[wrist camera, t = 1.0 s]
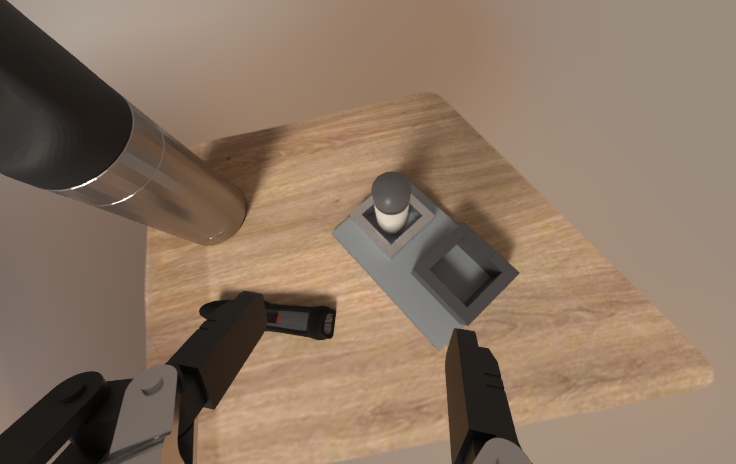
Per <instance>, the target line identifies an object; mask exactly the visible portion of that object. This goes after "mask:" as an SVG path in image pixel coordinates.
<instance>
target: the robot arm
mask: <svg viewBox="0 0 736 464" xmlns="http://www.w3.org/2000/svg"><path fill="white" fill-rule="evenodd" d="M0 173H1V174H3V175H5V176H8V177H10V178H13V179H16V180H18V181H21V182H24V183H27V184H30V185H32V186H35V187H38V188H41V189H44V190H47V191H50V192H53V193H56V194H58V195H61V196H64V197H67V198H70V199H73V200H75V201H78V202H81V203H84V204H87V205H90V206H93V207H96V208H99V209H101V210H104V211H107V212H110V213H113V214H115V215H118V216H121V217H124V218H127V219H129V220H132V221H135V222H138V223H141V224H144V225H146V226H149V227H152V228H155V229H158V230H160V231H163V232H166V233H169V234H172V235H175V236H177V237H180V238H183V239H186V240H188V241H191V242H194V243H197V244H201V245H214V244H219V243H221V242H223V241H225V240H227V239H228V238H230V237H231V236H232V235H233V234H234V233H235V232H236V231H237V230H238V229H239V227H240V226H241V224H242V222H243V220H244V217H245V213H246V203H245V199H244V197H243V195H242V193H241V192H240V191H239V189H238V188H236V187H235V186H234V185H233V184H231V183H230V182H229V181H228V180H226V179H225V178H224V177H223V176H222V175H220V174H219V173H218V172H217V171H215V170H214V169H213V168H212V167H210V166H209V165H208V164H207V163H205V162H204V161H203V160H202V159H200V158H199V157H198V156H197V155H195V154H194V153H193V152H192V151H190V150H189V149H188V148H187V147H185V146H184V145H183V144H182V143H180V142H179V141H178V140H177V139H175V138H174V137H173V136H172V135H170V134H169V133H168V132H167V131H165V130H164V129H163V128H161V127H160V126H159V125H158V124H157V123H155V122H154V121H153V120H151V119H150V118H149V117H148V116H146V115H145V114H144V113H143V112H141V111H140V110H139V109H138V108H136V107H135V106H134V105H133V104H131V103H130V102H129V101H128V100H126V99H125V98H124V97H122V96H121V95H120V94H119V93H117V92H116V91H115V90H114V89H113V88H111V87H110V86H109V85H107V84H106V83H105V82H104V81H103V80H101V79H100V78H99V77H98V76H97V75H95V74H94V73H93V72H92V71H91V70H89V69H88V68H87V67H86V66H85V65H84V64H83V63H81V62H80V61H79V60H78V59H77V58H76V57H74V56H73V55H72V54H71V53H69V52H68V51H67V50H66V49H64V48H63V47H62V46H61V45H60V44H58V43H57V42H56V41H55V40H54V39H52V38H51V37H50V36H49V35H47V34H46V33H45V32H44V31H43V30H41V29H40V28H39V27H38V26H36V25H35V24H34V23H33V22H32V21H30V20H29V19H28V18H27V17H25V16H24V15H23V14H22V13H21V12H20V11H19V10H17V9H16V8H15V7H14V6H13V5H12V4H10V3H9V2H8V1H7V0H0ZM266 326H267V315H266V310H265V304H264V298H263V295H262V294H260V293H254V292H248V291H243V292H241V293H240V294H239V295H238V296H237V298H236V299H235V300H234V301H233V302H232V301H228V302H226V303H225V304H223V305H222V306H220V307H218V308H217V309H216V310H215V311H214V312H213V313H212V314H211V315H210V316H209V317H208V318H207V321H205V322H204V323H203V324H202V325H201V326H200V327H199V329H197V330H196V331H195V332H194V334H193V335H192V336H191V337H190V338H189V339H188V340H187V341H186V342H185V343H184V344H183V345H182V347H181V348H180V349H179V350H178V351H177V352H176V353H175V354H174V355H173V356H172V357H171V358H170V360H169V361H168V362H167V363H165V364H164V365H158V366H154V367H152V368H149V369H147V370H145V371H144V372H142V373H141V374H139V375H138V376H137V377H136V378H133V379H124V380H116V381H107V382H106V381H105V379H104V378H103V376H102V375H101V374H100V373H98V372H93V371H91V372H84V373H81V374H77V375H75V376H73V377H71V378H69V379H67V380H65V381H63V382H62V383H60V384H59V385H57V386H56V387H55V388H54V389H52V390H51V391H50V392H49V393H48V394H47V395H46V396H44V397H43V398H42V399H41V400H40V401H39V402H38V403H36V404H35V405H34V406H33V407H32V408H31V409H29V411H27V412H26V413H25V414H24V415H23V416H21V417H20V418H19V419H18V420H17V421H16V422H15V423H13V424H12V425H11V426H10V427H9V428H8V429H7V430H5V431H4V432H3V433H2V434H1V435H0V464H46V463H47V462H48V461H49V460H50V459H51V458H52V456H53V455H54V454H55V453H56V452H57V451H58V450H59V449H60V448H61V447H62V446H63V445H64V444H65V443H66V442H67V440H70V442H71V443H70V444H69V445H68V447H67V448H66V449H65V450H64V451H63V452H62V453H61V454H60V455H59V456H58V457H57V458H56V460H55V461H54V462H53V463H52V464H197V441H198V417H197V415H198V414H199V413H200V411H201V410H202V408H203V407H205V408H209V409H214V410H215V408H216V407H217V405H218V403H219V402H220V400H221V399H222V397H223V396H224V394H225V393H226V391H227V389H228V388H229V386H230V385H231V383H232V382H233V380H234V379H235V377H236V375H237V374H238V372H239V371H240V369H241V368H242V366H243V365H244V363H245V361H246V360H247V358H248V357H249V355H250V354H251V352H252V351H253V349H254V348H255V346H256V344H257V343H258V341H259V340H260V338H261V337H262V335H263V333H264V331H265V329H266ZM445 373H446V387H447V401H448V416H449V430H450V443H451V458H452V464H532V463H531V461H530V460H529V458H528V457H527V455H526V454H525V453H524V452H523V450H522V449H521V447H520V444H519V442H518V439H517V436H516V432H515V428H514V424H513V420H512V416H511V412H510V408H509V405H508V401H507V397H506V393H505V391H504V385H503V381H502V379H501V374H500V370H499V366H498V362H497V360H496V359H495V357H494V356H493V354H492V353H491V351H490V350H489V349H488V348H483V347H478V342H477V337H476V333H475V332H474V331H470V330H464V329H458V328H454V330H453V333H452V336H451V339H450V343H449V346H448V350H447V354H446V361H445Z"/></svg>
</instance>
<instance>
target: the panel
mask: <svg viewBox="0 0 736 464" xmlns="http://www.w3.org/2000/svg"><path fill="white" fill-rule="evenodd" d="M400 174H401V173H400ZM402 175H403V174H402ZM409 182H410V181H409ZM410 185H411V194H412V195H413V196H414V197H415V198H417V199H418V200H419V201H420V202H421V203H422V204H423V205H424V206H425V207H426V208H427V209H428V210H429V211H431V212H432V213H433V214H434V215H435V217H434V220H433V222H432V223H431V224H430V225H429V226H428V227H427V228H426V229H425V230H424V231H423V232H422V233H420V234H419V235H418V236H417V237H416V238H415V239H414V240H413V241H412V242H411V243H410V244H409V245H407V246H406V247H405V248H404V249H403V250H402V251H401V252H400V253H399V254H398V255H397V256H396V257H395V258H393V259H392V260H391V261H390V260H389V259H388V258H387V257H386V255H385V254H384V253H383V252H382V251H381V250H380V249H379V248H378V247H377V246H376V245H375V244H374V243H373V242H372V241H371V240H370V239H369V238H368V237H367V236H366V235H365V233H364V232H363V231H362V230H361V229H360V228H359V227H358V226H357V225H356V224H355V223H354V222H353V221H352V219H351V216H350V217H349V218H348V219H346V220H345V221H344V222H343V223H342V224H341V225H340V226H338V227H337V228H336V229H335V230H334V231H333V232H332V235H333V236H334V237H335V238H336V239H337V240H338V241H339V242H340V243H341V245H342V246H343V247H344V248H345V249H346V250H347V251H348V252H349V253H350V254H351V256H352V257H353V258H354V259H355V260H356V261H357V262H358V263H359V264H360V265H361V267H362V268H363V269H364V270H365V271H366V272H367V273H368V274H369V275H370V276H371V278H372V279H373V280H374V281H375V282H376V283H377V284H378V285H379V286H380V287H381V289H382V290H383V291H384V292H385V293H386V294H387V295H388V296H389V297H390V298H391V300H392V301H393V302H394V303H395V304H396V305H397V306H398V307H399V308H400V309H401V311H402V312H403V313H404V314H405V315H406V316H407V317H408V318H409V319H410V320H411V322H412V323H413V324H414V325H415V326H416V327H417V328H418V329H419V330H420V331H421V333H422V334H423V335H424V336H425V337H426V338H427V339H428V340H429V341H430V342H431V343H432V345H433V346H434V347H435V348H436V349H437V350H438V351H440V350H441V349H442V347H443V346H444V345H445V344H446V343H447V342H448V341H449V340H450V339H451V336H452V333H453V330H454V328H458V329H461V328H462V327H463V326H464V325H461V324H459V323H458V322H457V321H456V320H455V319H454V318H453V317H452V316H451V315H450V314H449V312H448V311H447V310H446V309H445V308H444V307H443V306H442V305H441V304H440V303H439V302H438V301H437V300H436V299H435V298H434V297H433V296H432V295H431V294H430V293H429V292H428V291H427V290H426V289H425V288H424V287H423V286H422V285H421V283H420V282H419V281H418V280H417V279H416V278H415V277H414V276H413V275H412V274H411V272H412V270H413V269H414V268H415V267H416V266H417V265H418V264H419V263H420V262H421V261H422V260H423V259H424V258H425V257H426V256H427V255H429V254H430V253H431V252H432V251H433V250H434V249H435V248H436V247H437V246H438V245H439V244H440V243H441V242H442V241H443V240H444V239H445V238H447V237H448V236H449V235H450V234H451V233H452V232H453V231H454V230H455V229H456V228H457V227H458V225H457V224H456V223H455V222H454V221H453V220H452V219H451V218H450V217H449V216H447V215H446V214H445V213H444V212H443V211H442V210H441V209H440V208H439V207H438V206H436V205H435V204H434V203H433V202H432V201H431V200H430V199H429V198H428V197H427V196H426V195H424V194H423V193H422V192H421V191H420V190H419V189H418V188H417V187H416V186H415V185H413V184H412V183H411V182H410ZM366 220H367V221H368V222H369V223H370V224H371V225H372V226H373V227H374V228H375V229H376V230H377V231H378V232H379V233H380V234H381V235H382V236H383V237H384V238H385V239H386V240H387V241H388V242H389V243H390V244H392V243H393V242H394V241H395V240H397V239H398V238H399V237H400V236H401V235H402V234H403V233H404V232H405V231H406V230H407V229H409V228H410V227H411V226H412V225H413V224H414V223H415V222H416V221H417V220H418V219H416V218H415V217H414V216H413V215H412V214H411V213H410V212H409V211H408V215H407V222H406V227H405V229H404V230H403V231H402V232H401V233H400V234H398V235H394V236H389V235H386V234H384V233H383V232H381V230H380V229H379V227H378V224H377V218H376V212H374V213H372V214H371V215H370V216H369V217H368V218H367V219H366ZM430 271H431V272H432V273H433V274H434V275H435V276H436V277H437V278H438V279H439V280H440V281H441V282H442V283H443V284H444V285H445V286H446V287H447V288H448V289H449V290H450V291H451V292H452V293H453V294H454V295H455V296H456V297H457V298H458V299H459V300H460V301H461V302H462V303H463V304H464V303H465V302H466V301H467V300H468V299H469V298H470V297H471V296H472V295H473V294H474V293H475V292H476V291H477V290H478V289H479V288H480V287H481V286H482V285H483V284H484V283H485V282H486V281H487V280H488V279H489V278H490V277H491V276H490V275H489V274H488V273H486V272H485V271H484V270H483V269H482V268H481V267H480V266H479V265H478V264H477V263H476V262H475V261H474V260H473V259H472V258H470V257H469V256H468V255H467V254H466V253H465V252H464V251H463V250H462V249H461V248H460V247H459V246H458V245H456V246H454V247H453V248H452V249H451V250H450V251H449V252H448V253H447V254H446V255H445V256H444V257H443V258H442V259H441V260H440V261H439V262H438V263H437V264H436V265H435V266H434V267H433V268H432V269H430Z"/></svg>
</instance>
